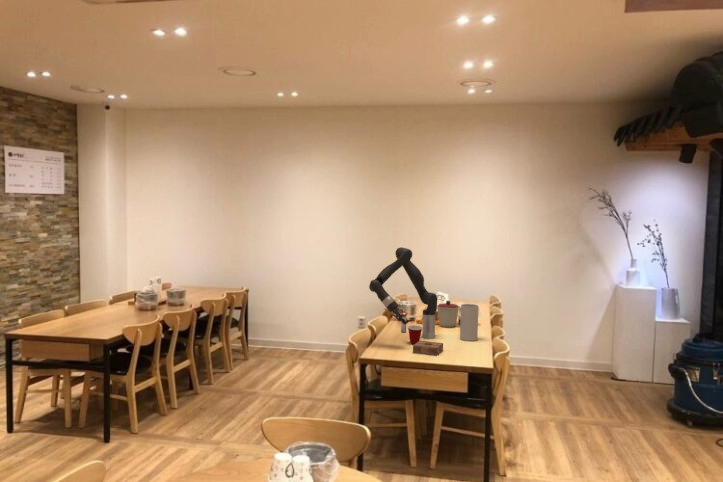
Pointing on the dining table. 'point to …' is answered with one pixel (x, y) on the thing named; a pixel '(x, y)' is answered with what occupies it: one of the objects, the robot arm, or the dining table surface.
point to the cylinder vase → (469, 322)
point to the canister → (447, 314)
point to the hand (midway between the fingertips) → (406, 323)
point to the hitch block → (428, 348)
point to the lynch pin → (403, 327)
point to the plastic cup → (414, 333)
